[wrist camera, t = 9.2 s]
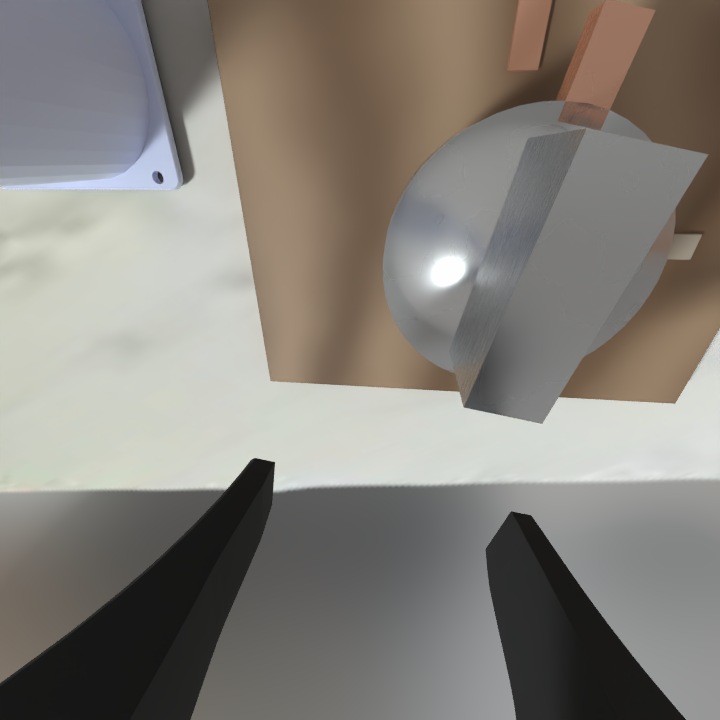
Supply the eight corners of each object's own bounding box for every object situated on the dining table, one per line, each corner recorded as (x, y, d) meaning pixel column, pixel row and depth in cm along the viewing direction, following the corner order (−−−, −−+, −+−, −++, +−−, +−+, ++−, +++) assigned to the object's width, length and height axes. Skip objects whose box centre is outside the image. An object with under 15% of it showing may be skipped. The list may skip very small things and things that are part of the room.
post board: (277, 370, 21) (259, 399, 18) (221, 3, 13) (175, -36, 10) (660, 390, 19) (700, 426, 16) (888, -29, 11) (1043, -88, 8)
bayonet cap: (559, 374, 15) (629, 468, 11) (365, 333, 15) (349, 409, 11) (742, 65, 10) (1062, -24, 5) (437, -2, 10) (472, -155, 5)
